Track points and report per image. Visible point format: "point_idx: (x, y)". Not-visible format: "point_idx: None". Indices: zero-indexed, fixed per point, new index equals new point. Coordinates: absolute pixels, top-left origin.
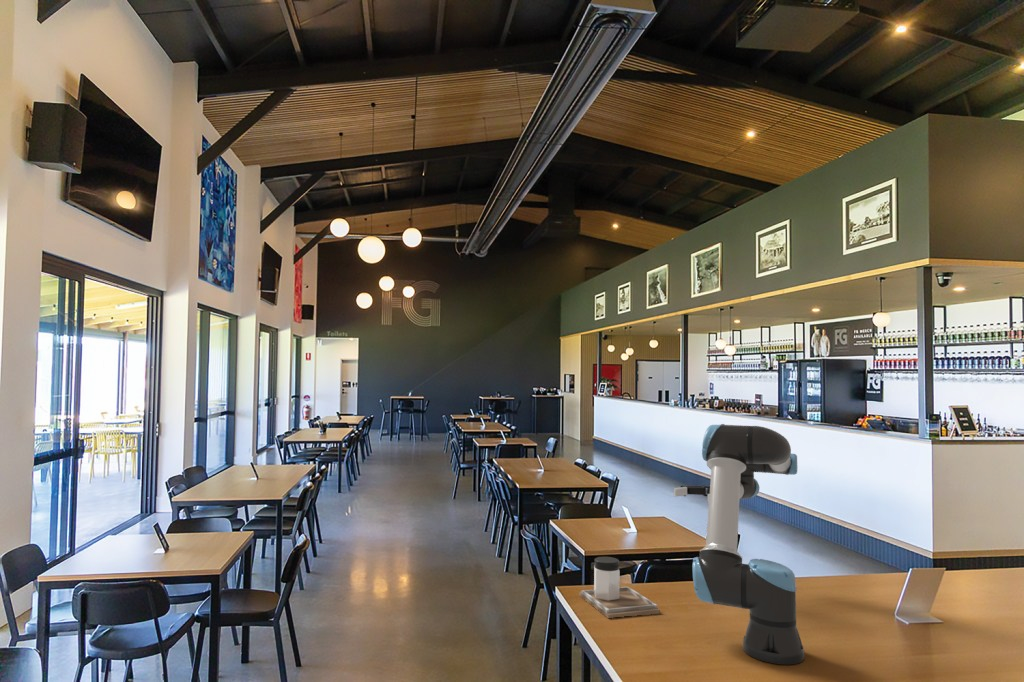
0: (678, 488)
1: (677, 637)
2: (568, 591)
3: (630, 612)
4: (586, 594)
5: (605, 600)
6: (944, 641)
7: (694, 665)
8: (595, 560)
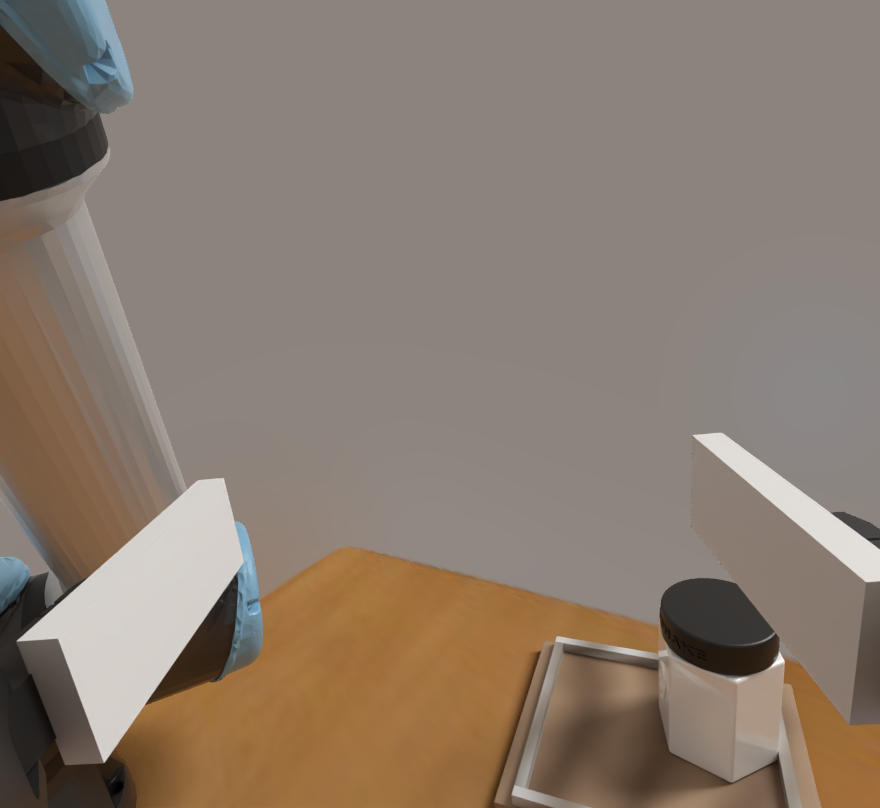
0: (718, 460)
1: (335, 706)
2: None
3: (528, 696)
4: None
5: None
6: None
7: None
8: (720, 580)
